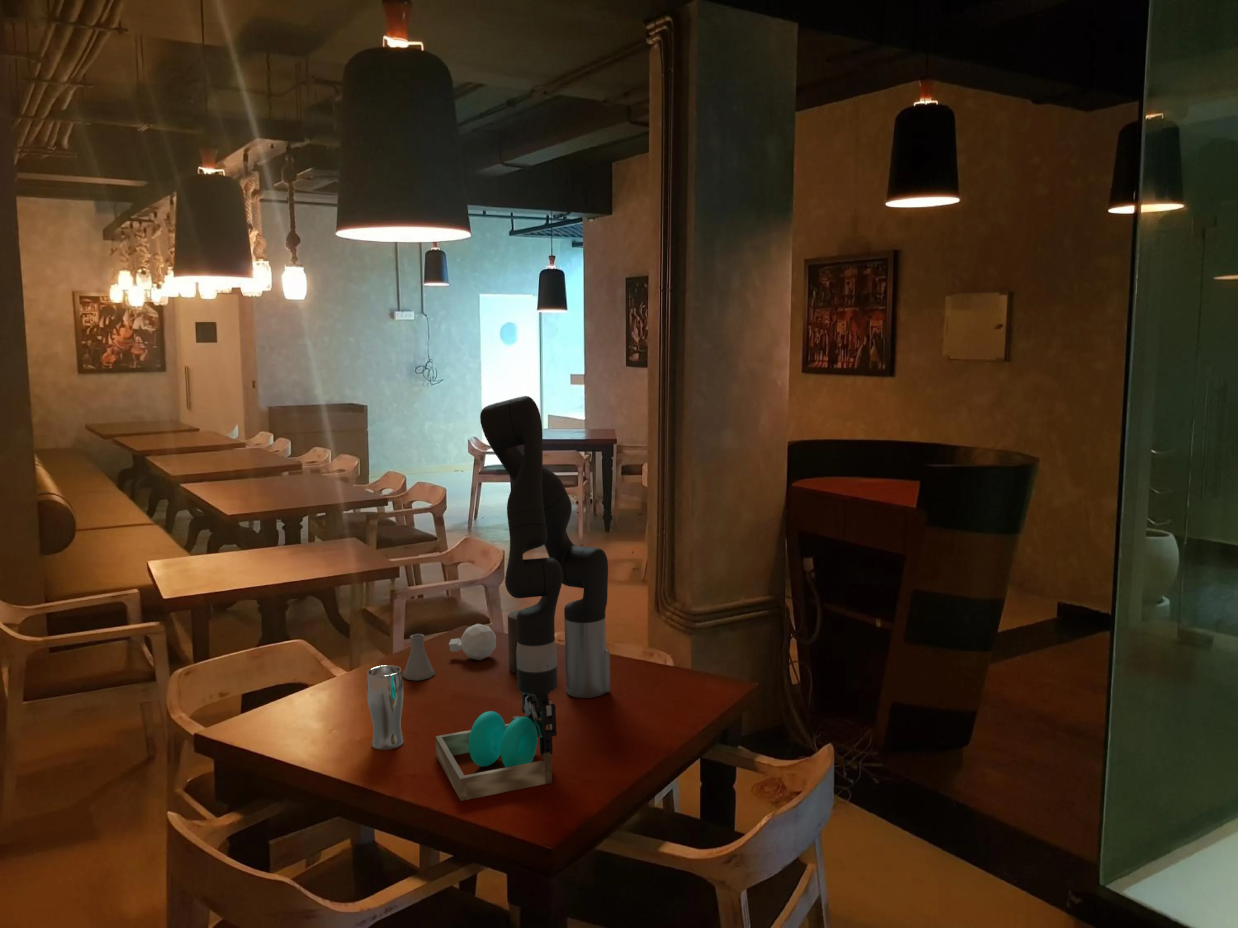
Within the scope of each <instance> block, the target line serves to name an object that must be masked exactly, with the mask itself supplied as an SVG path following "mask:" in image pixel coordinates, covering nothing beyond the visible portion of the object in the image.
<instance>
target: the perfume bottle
mask: <svg viewBox="0 0 1238 928" xmlns="http://www.w3.org/2000/svg"><path fill="white" fill-rule="evenodd" d="M448 646H449V649H450V652H451V653H455V652H460V651H461V650H462V651H463V653H464V654H465V655H466V656H467V657H468V658H469V659H473V660H477V661H482V660H484V659H486V658H489V657H490V656H491V655H492V654H493V652H494V650H495V649H496V647H497V635H496V634H495V632H494V631H493V630H492V629H491V628H490V626H489V625H484V624H481V623H476V624H473V625H471V626H469V627H467V628H466V629H465V631H464V632H463V634H462V635H461V637H459V638H451V639H450V641H449V643H448Z"/></svg>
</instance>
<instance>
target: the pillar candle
mask: <svg viewBox="0 0 1238 928" xmlns="http://www.w3.org/2000/svg"><path fill="white" fill-rule="evenodd" d="M521 610H522V609H517V610H512V611H510V612H509V613H508V614H507V638H508V643H507V644H508V645H507V648H508V669H509V671H511V673H514V674H516V675H517V659H516V651H517V614H518V613H519V611H521Z"/></svg>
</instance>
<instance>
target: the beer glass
mask: <svg viewBox="0 0 1238 928" xmlns="http://www.w3.org/2000/svg"><path fill="white" fill-rule="evenodd" d="M403 681H404V680H403V672H402V668H401V667H400V666H398V665H392V664H391V665H389V664H388V665H387V664H386V665H379V666H374V667H372V668H370V669H368V670H367V672H366V697H367V703H368V709H369V713H370V719H371V721H372V727H373V729H372V730H373V731H372V733H373V735H372V741H371V746H372V748H373V749H376V750H378V751H379V750H380V751H389V750H394V749H397V748H399V747H401V746H402V745H403V744H404V736H403V733H402V728H401V727H402V726H401V722H402V720H401V719H402V714H403V713H402V712H403V704H404V682H403Z"/></svg>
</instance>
